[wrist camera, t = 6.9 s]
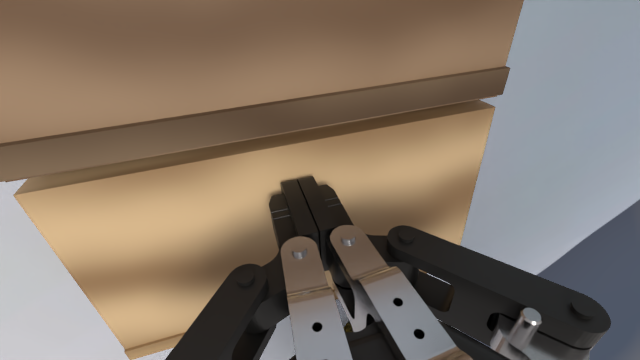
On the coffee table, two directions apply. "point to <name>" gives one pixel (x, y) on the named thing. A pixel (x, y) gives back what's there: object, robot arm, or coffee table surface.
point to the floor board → (228, 71)
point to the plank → (244, 209)
